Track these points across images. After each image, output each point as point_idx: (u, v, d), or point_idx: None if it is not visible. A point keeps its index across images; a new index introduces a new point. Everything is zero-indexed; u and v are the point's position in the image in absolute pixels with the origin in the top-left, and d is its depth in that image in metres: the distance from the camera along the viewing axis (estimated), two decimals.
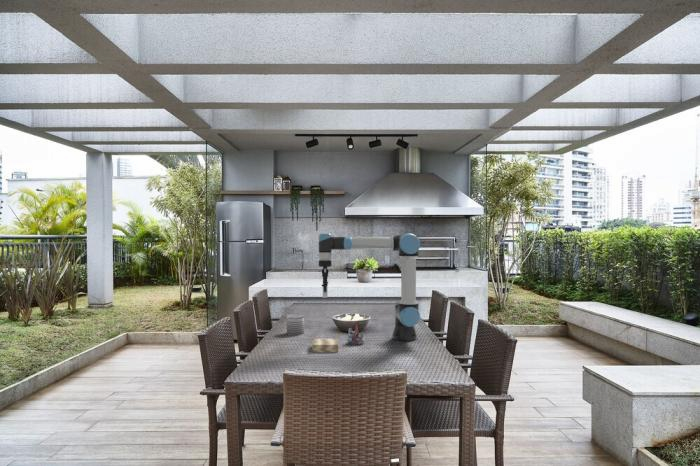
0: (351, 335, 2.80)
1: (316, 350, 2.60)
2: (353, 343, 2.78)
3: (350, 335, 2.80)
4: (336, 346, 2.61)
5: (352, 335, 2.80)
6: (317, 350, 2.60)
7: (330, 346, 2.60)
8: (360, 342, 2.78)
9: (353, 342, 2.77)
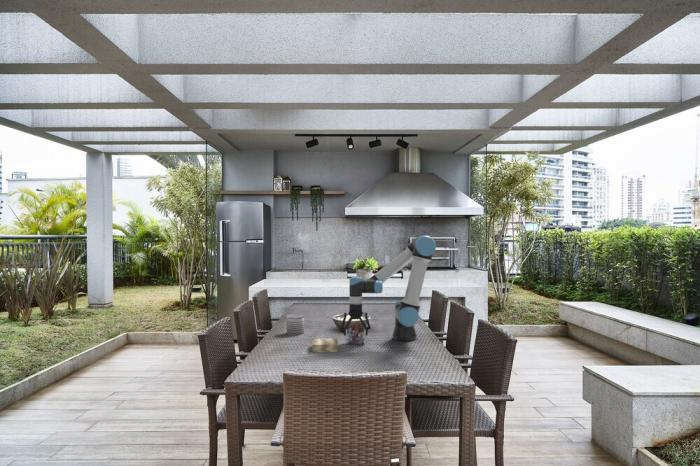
0: (351, 335, 2.81)
1: (316, 350, 2.60)
2: (353, 343, 2.79)
3: (350, 335, 2.81)
4: (336, 346, 2.61)
5: (352, 335, 2.81)
6: (317, 350, 2.60)
7: (330, 346, 2.60)
8: (360, 342, 2.79)
9: (353, 342, 2.78)
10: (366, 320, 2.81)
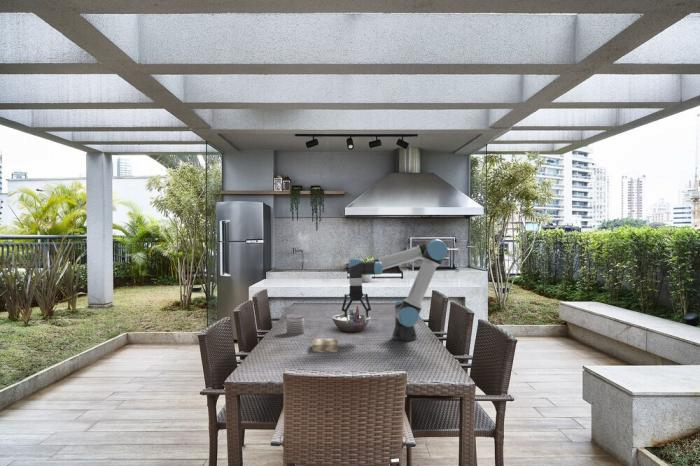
0: (352, 316, 2.81)
1: (316, 350, 2.60)
2: (354, 324, 2.79)
3: (351, 316, 2.81)
4: (336, 346, 2.61)
5: (353, 316, 2.81)
6: (317, 350, 2.60)
7: (330, 346, 2.60)
8: (361, 323, 2.80)
9: (354, 323, 2.78)
10: (366, 301, 2.81)
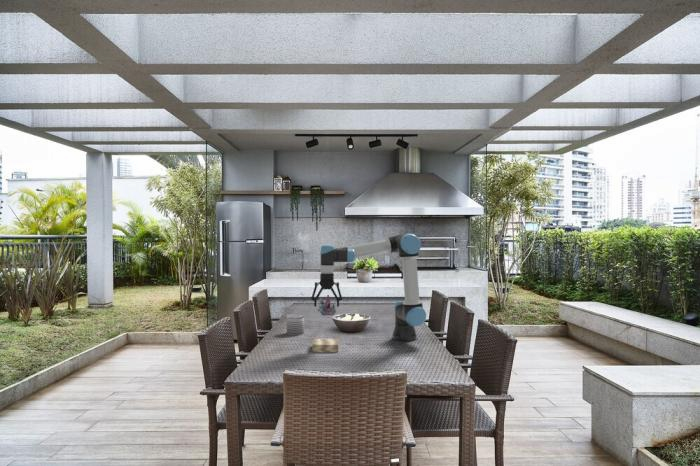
0: (322, 305, 2.68)
1: (316, 350, 2.60)
2: (324, 313, 2.66)
3: (321, 305, 2.68)
4: (336, 346, 2.61)
5: (323, 305, 2.68)
6: (317, 350, 2.60)
7: (330, 346, 2.60)
8: (331, 312, 2.66)
9: (324, 312, 2.65)
10: (338, 290, 2.68)
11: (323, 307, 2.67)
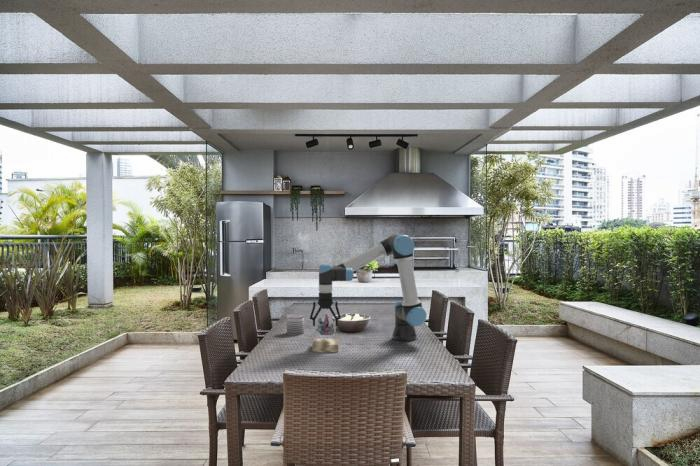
0: (321, 325, 2.67)
1: (316, 350, 2.60)
2: (323, 333, 2.65)
3: (319, 325, 2.67)
4: (336, 346, 2.61)
5: (322, 325, 2.67)
6: (317, 350, 2.60)
7: (330, 346, 2.60)
8: (330, 332, 2.65)
9: (322, 332, 2.64)
10: (336, 310, 2.67)
11: (322, 326, 2.67)
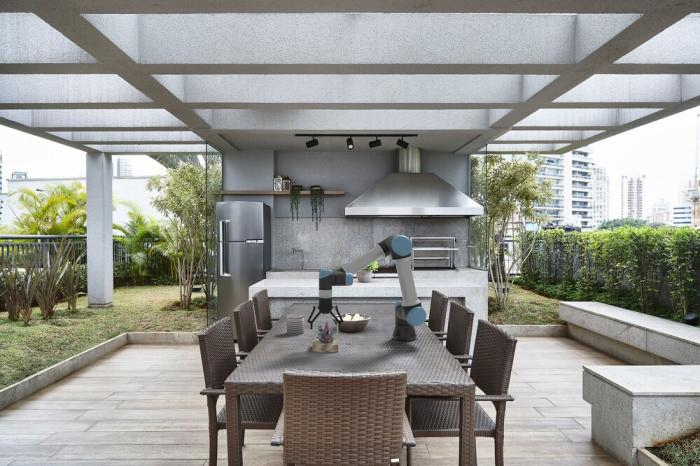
0: (321, 332, 2.67)
1: (316, 350, 2.60)
2: (323, 341, 2.65)
3: (320, 332, 2.67)
4: (336, 346, 2.61)
5: (322, 332, 2.67)
6: (317, 350, 2.60)
7: (330, 346, 2.60)
8: (330, 340, 2.65)
9: (323, 340, 2.64)
10: None
11: (322, 334, 2.67)
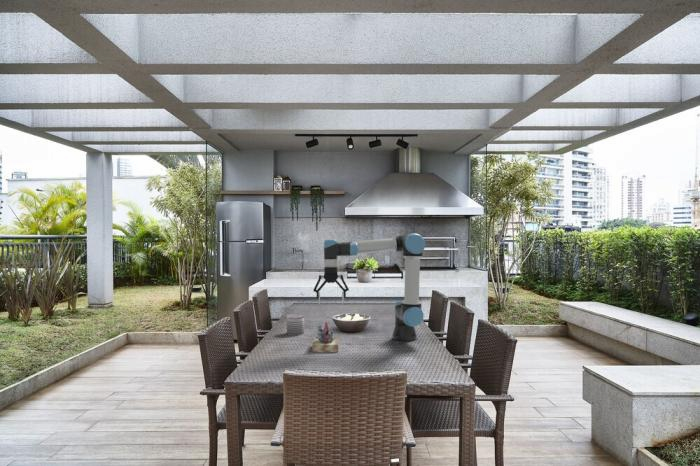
0: (320, 332, 2.67)
1: (316, 350, 2.60)
2: (322, 341, 2.65)
3: (319, 332, 2.67)
4: (336, 346, 2.61)
5: (321, 332, 2.67)
6: (317, 350, 2.60)
7: (330, 346, 2.60)
8: (330, 340, 2.66)
9: (322, 340, 2.64)
10: (343, 282, 2.74)
11: (321, 334, 2.67)
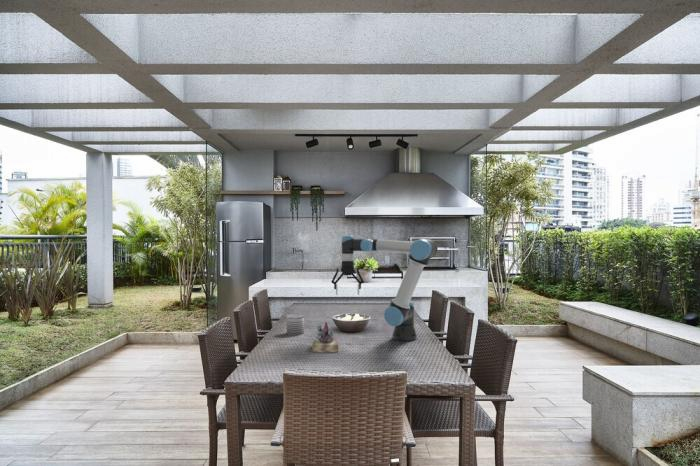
0: (320, 332, 2.67)
1: (316, 350, 2.60)
2: (322, 341, 2.65)
3: (319, 332, 2.67)
4: (336, 346, 2.61)
5: (321, 332, 2.67)
6: (317, 350, 2.60)
7: (330, 346, 2.60)
8: (329, 340, 2.66)
9: (322, 340, 2.65)
10: None
11: (321, 334, 2.67)
